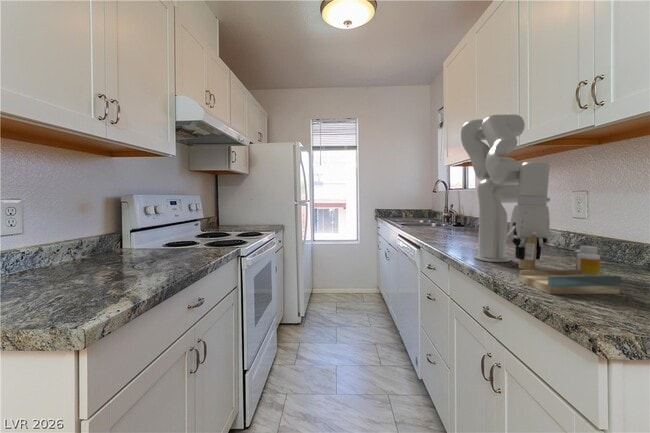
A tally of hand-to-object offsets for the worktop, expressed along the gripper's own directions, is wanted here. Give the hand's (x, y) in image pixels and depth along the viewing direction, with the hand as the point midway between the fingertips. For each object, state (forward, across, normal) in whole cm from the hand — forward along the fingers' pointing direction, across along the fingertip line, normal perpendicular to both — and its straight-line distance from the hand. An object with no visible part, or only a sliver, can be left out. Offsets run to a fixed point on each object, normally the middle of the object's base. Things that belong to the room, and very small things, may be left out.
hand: (527, 258), depth 97 cm
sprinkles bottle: (+4, 0, 0) cm, 4 cm away
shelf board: (+4, -1, +14) cm, 15 cm away
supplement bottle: (+5, -14, +6) cm, 16 cm away
